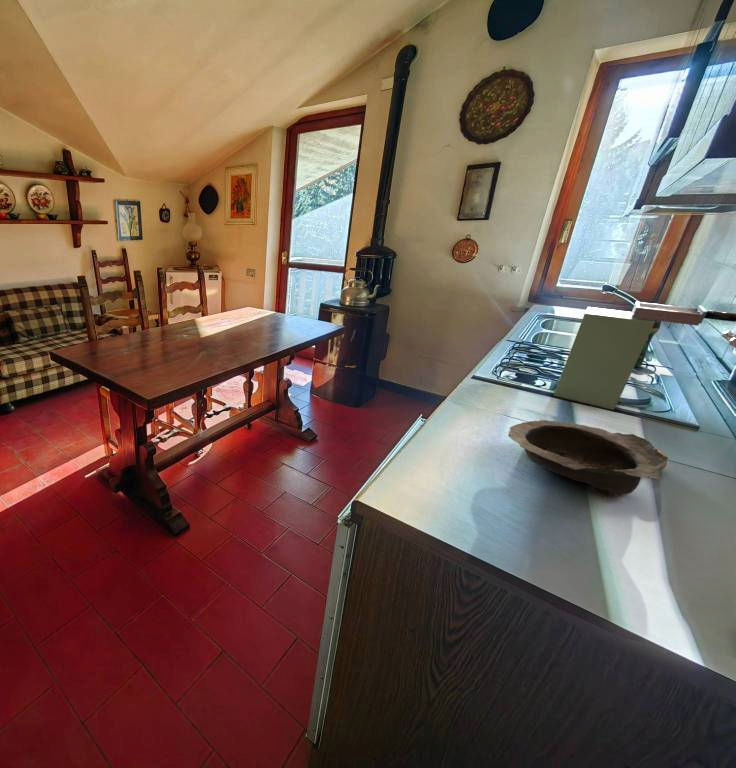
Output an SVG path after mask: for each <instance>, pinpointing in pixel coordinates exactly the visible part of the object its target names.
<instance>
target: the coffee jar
mask: <svg viewBox="0 0 736 768" xmlns="http://www.w3.org/2000/svg"><path fill="white" fill-rule="evenodd" d="M654 321H655V323H654V325H653V327H652V329H651V331H650V334H649V336H648V338H647V340H646V342H645V344H644V347H643V349H642V351H641V353H640V355H639V357H638V360H637V362H636V364H635V366H634V368H638V367H641V366H642V365H643V364H644V362H645V358H646V355H647V352H648V350H649V347H650V344H651V342H652V340H653V337H654V335H656V333H658V332H659V330H660V328H661V324H662V321H657V320H654Z"/></svg>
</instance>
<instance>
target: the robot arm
mask: <svg viewBox="0 0 736 768" xmlns="http://www.w3.org/2000/svg"><path fill="white" fill-rule="evenodd" d="M720 336H721V337H722V338H723V339H725V340H727V343H728V345H730V346H731V347H732V348H733V349H735V350H736V333H734V332H732V331H730V330H726V331H724V332H722V333H721V334H720Z"/></svg>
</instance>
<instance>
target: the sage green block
mask: <svg viewBox="0 0 736 768" xmlns="http://www.w3.org/2000/svg"><path fill="white" fill-rule="evenodd" d="M654 323H655V321H654V320H649V319H641V318H633V317H632V311H627V310H618V309H617V310H616V309H609V308H600V307H593V306H592V307H591V306H587V308H586V310H585V312H584V314H583V317H582V319H581V323H580V325H579V328H578V330H577V332H576V335H575V337H574V341H573V342H572V346H571V348H570V351H569V354H568V356H567V359H566V361H565V363H564V366H563V369H562V372H561V374H560V376H559V379H558V382H557V383H556V384H557V385H556V388H555V389H554V392H553V395H552V396H553V397H557V398H562V399H565V400H570V401H574V402H578V403H583V404H586V405H591V406H595V407H599V408H603V409H607V410H612V411H615V409H616V407H617V405H618V403H619V401H620V398H621V396H622V394H623V392H624V390H625V388H626V385H627V384H628V381H629V379H630V377H631V374H632V372H633V370H634V368H635V367H634V366H635V364H636V362H637V360H638V357H639V355H640V353H641V351H642V349H643V347H644V344H645V342H646V340H647V338H648V336H649V334H650V331H651V329H652V327H653V325H654Z"/></svg>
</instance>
